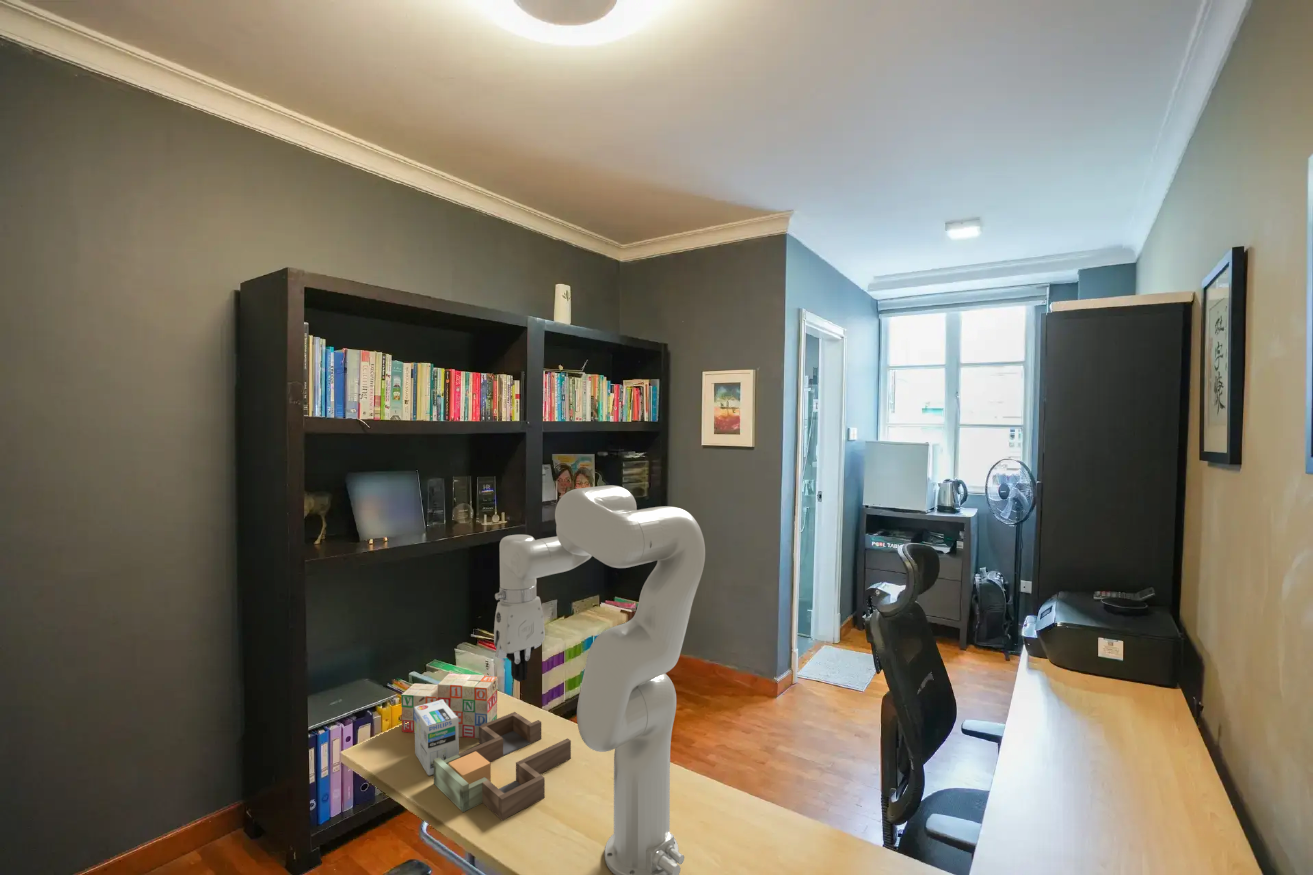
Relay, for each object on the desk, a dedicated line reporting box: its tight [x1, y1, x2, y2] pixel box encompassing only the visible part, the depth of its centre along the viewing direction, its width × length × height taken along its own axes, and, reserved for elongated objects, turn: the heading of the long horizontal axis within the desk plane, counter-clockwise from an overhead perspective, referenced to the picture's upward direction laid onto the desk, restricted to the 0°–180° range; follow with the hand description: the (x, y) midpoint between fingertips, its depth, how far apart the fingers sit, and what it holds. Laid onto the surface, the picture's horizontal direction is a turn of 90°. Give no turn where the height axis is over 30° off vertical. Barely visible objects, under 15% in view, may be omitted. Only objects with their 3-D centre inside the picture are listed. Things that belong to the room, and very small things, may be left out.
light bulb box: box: [414, 699, 460, 776], centre depth 130 cm, size 11×7×11 cm, turn 37°
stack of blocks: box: [400, 672, 498, 739], centre depth 143 cm, size 21×6×12 cm, turn 83°
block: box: [449, 751, 492, 784], centre depth 121 cm, size 6×6×5 cm
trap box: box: [433, 711, 572, 821], centre depth 126 cm, size 27×25×5 cm
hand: (519, 678), depth 128 cm, fingers closed
